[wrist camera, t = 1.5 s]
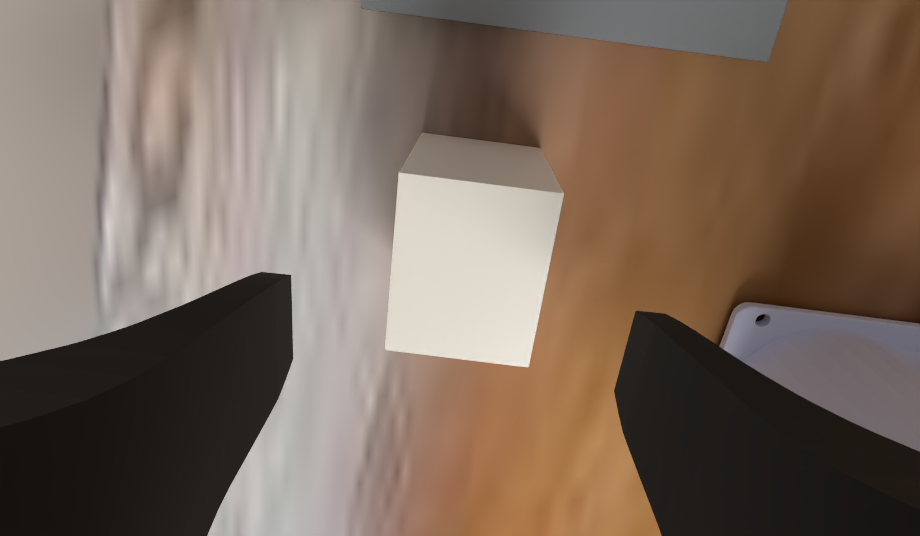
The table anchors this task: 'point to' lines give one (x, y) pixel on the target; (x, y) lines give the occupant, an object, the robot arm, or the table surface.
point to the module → (471, 249)
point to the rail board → (622, 21)
